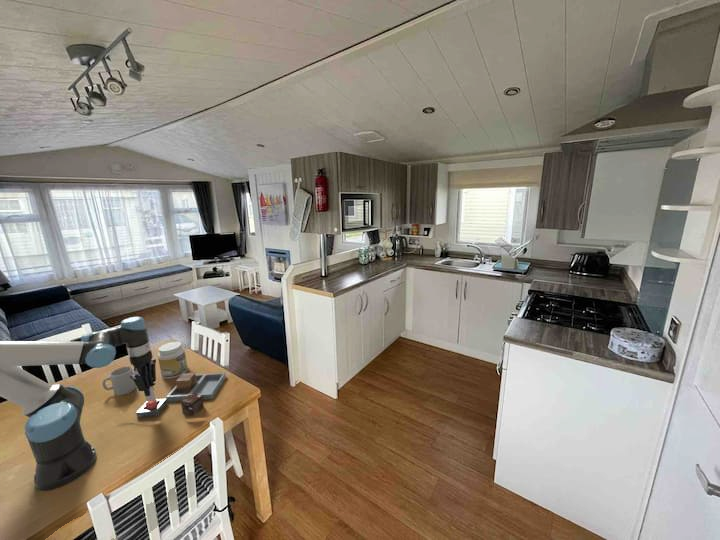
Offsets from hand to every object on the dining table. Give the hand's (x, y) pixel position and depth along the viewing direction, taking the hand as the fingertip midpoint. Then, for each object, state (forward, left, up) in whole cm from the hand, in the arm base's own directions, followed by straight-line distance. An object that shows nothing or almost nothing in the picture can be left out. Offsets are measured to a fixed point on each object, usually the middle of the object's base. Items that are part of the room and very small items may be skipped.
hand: (151, 400), depth 123 cm
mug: (+17, +26, -7) cm, 32 cm away
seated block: (+14, -8, -5) cm, 17 cm away
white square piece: (0, 0, -7) cm, 7 cm away
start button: (0, 0, -5) cm, 5 cm away
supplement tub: (+30, +7, -7) cm, 32 cm away
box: (-1, -18, -7) cm, 19 cm away
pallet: (+14, -13, -7) cm, 20 cm away
